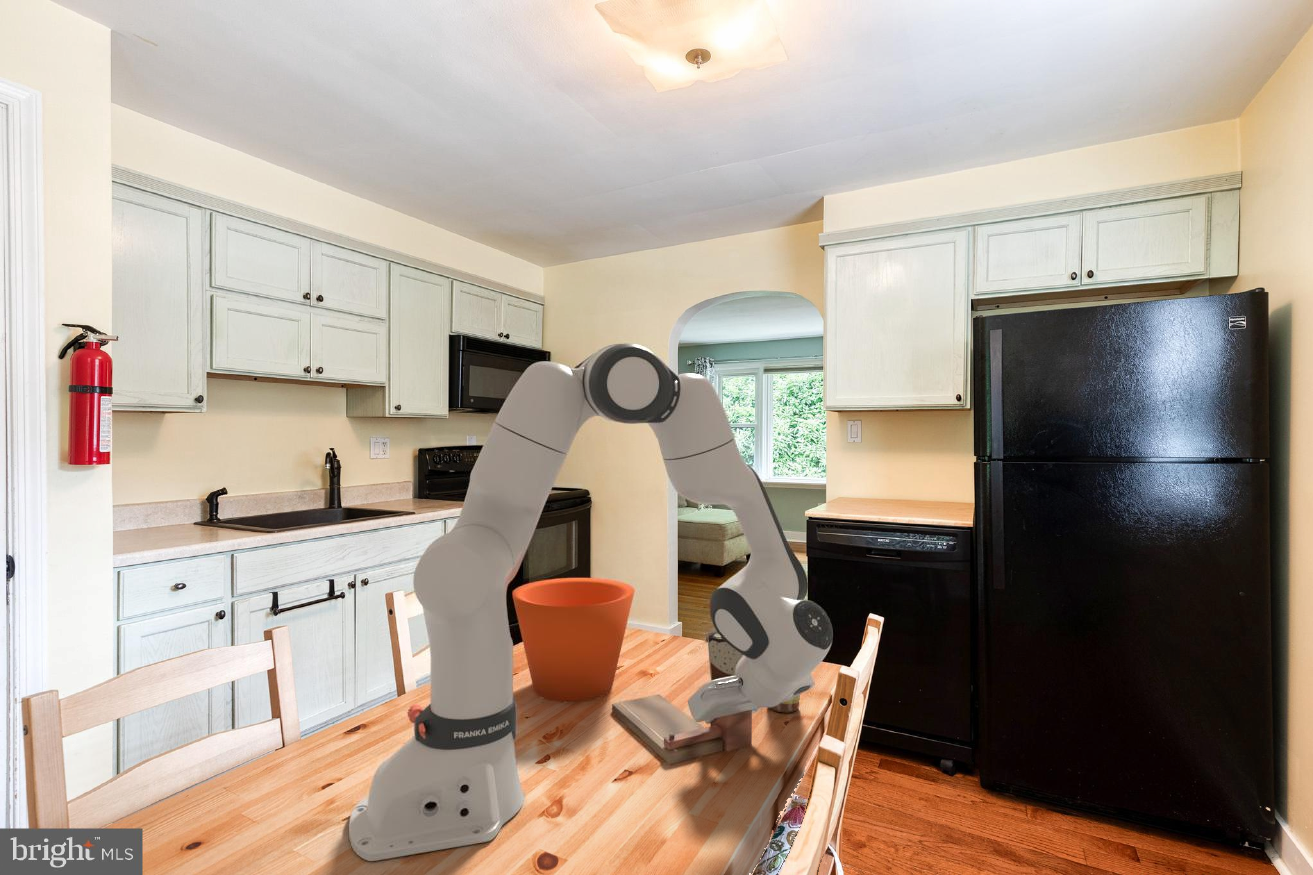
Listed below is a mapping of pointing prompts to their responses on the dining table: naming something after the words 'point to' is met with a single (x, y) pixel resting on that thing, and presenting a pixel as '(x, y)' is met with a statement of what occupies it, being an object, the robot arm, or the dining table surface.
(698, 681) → the dining table surface
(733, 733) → the latch lever with knob
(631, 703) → the plank
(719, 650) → the food container
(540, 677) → the flowerpot
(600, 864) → the dining table surface
